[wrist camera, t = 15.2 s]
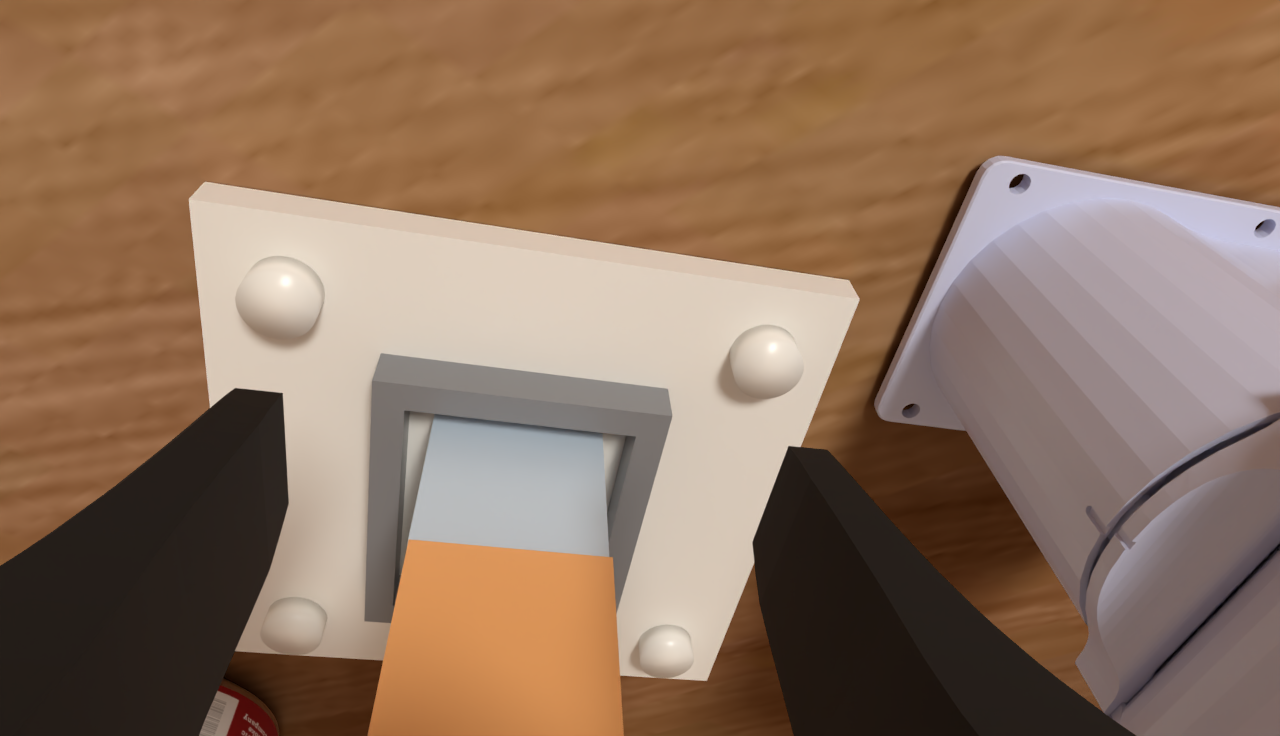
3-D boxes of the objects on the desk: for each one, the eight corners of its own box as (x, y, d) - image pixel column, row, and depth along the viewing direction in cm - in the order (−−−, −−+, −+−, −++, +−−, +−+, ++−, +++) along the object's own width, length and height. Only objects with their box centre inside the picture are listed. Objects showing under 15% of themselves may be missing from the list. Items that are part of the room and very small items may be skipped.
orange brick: (612, 557, 19) (625, 770, 15) (571, 713, 22) (572, 923, 18) (408, 539, 18) (362, 759, 14) (397, 704, 21) (356, 920, 17)
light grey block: (601, 426, 23) (609, 564, 19) (567, 573, 26) (567, 718, 22) (436, 406, 22) (407, 545, 18) (421, 560, 26) (393, 708, 22)
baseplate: (848, 280, 22) (873, 323, 20) (703, 656, 31) (711, 710, 29) (204, 181, 19) (167, 222, 18) (244, 625, 28) (222, 683, 26)
